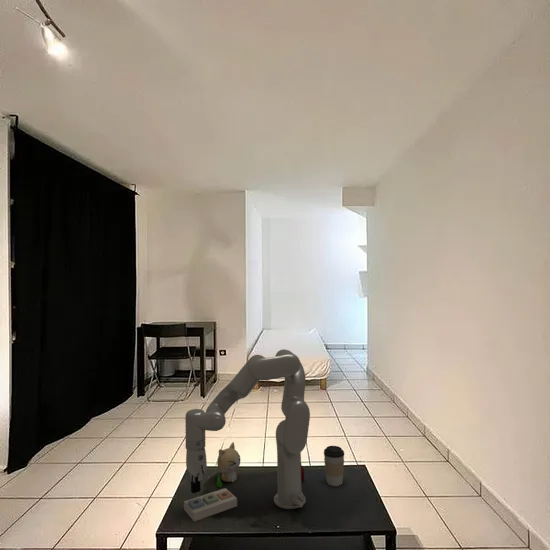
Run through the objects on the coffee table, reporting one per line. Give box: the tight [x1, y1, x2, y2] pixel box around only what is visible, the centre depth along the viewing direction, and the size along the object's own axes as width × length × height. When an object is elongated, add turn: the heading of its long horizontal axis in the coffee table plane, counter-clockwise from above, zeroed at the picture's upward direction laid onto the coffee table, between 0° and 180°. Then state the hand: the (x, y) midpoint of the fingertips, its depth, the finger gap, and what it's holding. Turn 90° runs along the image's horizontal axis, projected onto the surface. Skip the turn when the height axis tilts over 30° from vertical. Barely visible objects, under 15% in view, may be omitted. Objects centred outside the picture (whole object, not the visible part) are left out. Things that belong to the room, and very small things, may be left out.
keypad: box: [183, 487, 238, 522], centre depth 156 cm, size 10×18×3 cm, turn 124°
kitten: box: [216, 441, 241, 488], centre depth 179 cm, size 15×10×15 cm
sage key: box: [203, 492, 219, 505], centre depth 157 cm, size 5×5×2 cm
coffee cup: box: [323, 445, 345, 487], centre depth 175 cm, size 9×9×15 cm
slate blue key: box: [188, 498, 204, 510], centre depth 153 cm, size 5×5×2 cm
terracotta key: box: [217, 490, 232, 500], centre depth 160 cm, size 5×5×2 cm
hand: (195, 491), depth 153 cm, fingers closed
